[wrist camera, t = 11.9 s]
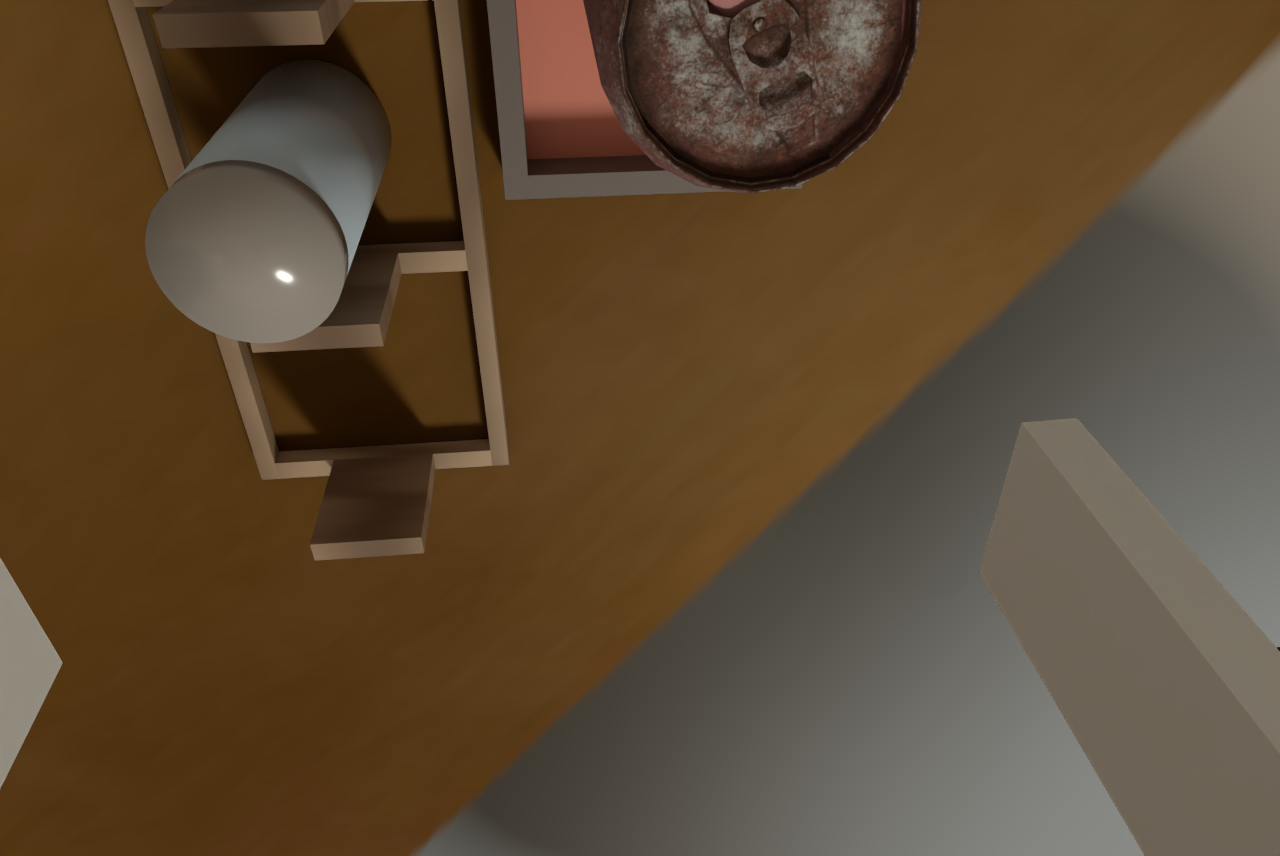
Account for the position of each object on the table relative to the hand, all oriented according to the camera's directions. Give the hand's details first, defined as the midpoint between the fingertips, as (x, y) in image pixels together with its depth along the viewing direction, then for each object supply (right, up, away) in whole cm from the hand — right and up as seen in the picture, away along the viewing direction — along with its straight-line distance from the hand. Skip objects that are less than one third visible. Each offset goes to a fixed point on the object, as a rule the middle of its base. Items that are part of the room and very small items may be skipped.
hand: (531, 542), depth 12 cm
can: (+2, +17, +15) cm, 23 cm away
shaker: (-9, +11, +18) cm, 23 cm away
